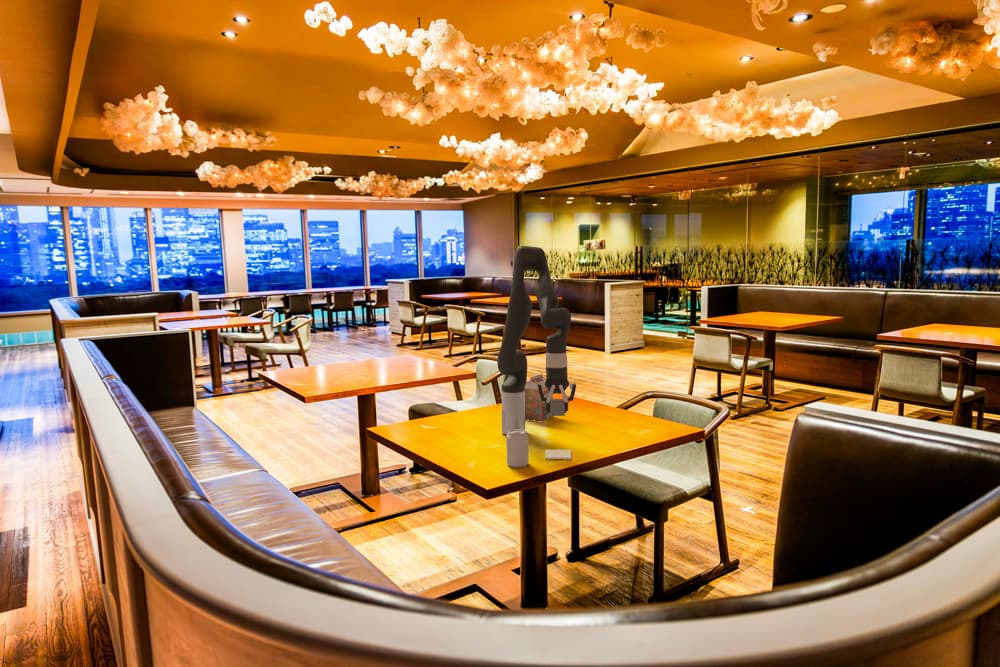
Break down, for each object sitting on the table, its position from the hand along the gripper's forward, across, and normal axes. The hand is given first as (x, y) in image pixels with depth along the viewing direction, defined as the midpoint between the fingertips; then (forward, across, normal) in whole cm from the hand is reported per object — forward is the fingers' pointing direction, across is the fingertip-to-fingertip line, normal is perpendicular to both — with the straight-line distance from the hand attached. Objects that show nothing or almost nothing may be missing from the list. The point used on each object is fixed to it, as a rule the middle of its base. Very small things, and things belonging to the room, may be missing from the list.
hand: (557, 412), depth 228 cm
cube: (+1, 0, 0) cm, 1 cm away
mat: (+16, 0, 0) cm, 16 cm away
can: (+16, -14, -10) cm, 24 cm away
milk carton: (+15, -8, +52) cm, 55 cm away
